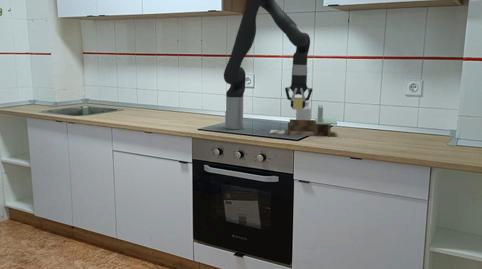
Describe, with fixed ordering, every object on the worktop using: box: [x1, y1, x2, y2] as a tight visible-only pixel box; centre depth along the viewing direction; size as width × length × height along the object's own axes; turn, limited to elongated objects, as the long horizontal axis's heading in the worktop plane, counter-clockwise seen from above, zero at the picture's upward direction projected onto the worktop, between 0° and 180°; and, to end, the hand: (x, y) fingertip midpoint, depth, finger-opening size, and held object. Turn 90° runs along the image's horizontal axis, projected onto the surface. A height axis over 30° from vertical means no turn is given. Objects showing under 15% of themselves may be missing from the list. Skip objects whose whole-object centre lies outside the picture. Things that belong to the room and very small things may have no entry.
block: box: [292, 96, 303, 111], centre depth 225 cm, size 4×4×6 cm
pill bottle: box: [295, 100, 312, 120], centre depth 246 cm, size 8×8×15 cm
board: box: [268, 118, 332, 138], centre depth 227 cm, size 30×13×7 cm, turn 82°
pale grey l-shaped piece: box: [314, 104, 338, 126], centre depth 224 cm, size 10×13×8 cm
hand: (297, 108), depth 225 cm, fingers closed on block, 4 cm apart
